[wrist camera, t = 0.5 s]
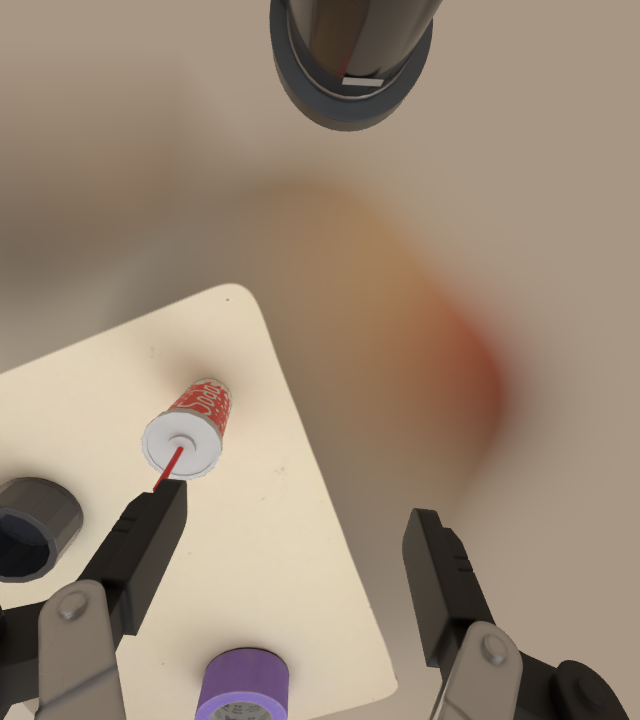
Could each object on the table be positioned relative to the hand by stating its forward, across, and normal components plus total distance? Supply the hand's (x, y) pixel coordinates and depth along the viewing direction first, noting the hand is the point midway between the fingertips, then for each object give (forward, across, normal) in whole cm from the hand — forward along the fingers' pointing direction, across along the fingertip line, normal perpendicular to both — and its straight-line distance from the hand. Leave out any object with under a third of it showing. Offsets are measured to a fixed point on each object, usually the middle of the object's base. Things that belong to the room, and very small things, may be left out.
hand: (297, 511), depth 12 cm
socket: (+19, +28, +25) cm, 42 cm away
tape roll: (+18, +3, +51) cm, 55 cm away
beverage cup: (+22, +10, +9) cm, 26 cm away
